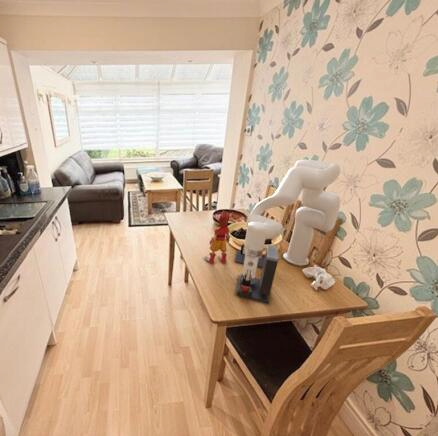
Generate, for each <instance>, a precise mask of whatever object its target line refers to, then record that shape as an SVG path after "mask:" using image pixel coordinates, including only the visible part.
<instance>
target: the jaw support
mask: <svg viewBox="0 0 438 436" xmlns="http://www.w3.org/2000/svg"><path fill="white" fill-rule="evenodd" d="M326 270H327V269H326V268H323V267H320V266H318V265H316V264H314V265H313V266H310V267H306V268H303V269H301V271H302V272H303V274H304V275H305V276H306V277H307V278H312V279H315V280H313V282H312V283H311V284H310V285H311V287H313V288H314V289H315V290H316V291H318V288H319V287H320V288H321V289H322V290H324V291H326V290H327V289H329V288H330V287H333V286H334V285H335V284H336V279H334V278H333V276H332V274H329V273H328V272H327V271H326Z"/></svg>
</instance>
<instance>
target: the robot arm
mask: <svg viewBox="0 0 438 436" xmlns="http://www.w3.org/2000/svg"><path fill="white" fill-rule="evenodd" d="M340 174H341V166H340V165H339V164H337V163H335V162H327V161H321V160H313V159H306V158H305V159H298V160H297V161H296V162H295V164H294V166H292V167H291V168H290V169H289V170H288V171H287V173H286V174H285V176H284V177H283V179H282V181H281V182H280V184H279V186H278V188H277V189H276V191H275V193H274V194H272V195H270V196H268V197H266V198H264V199H263V200H261V201H260V202H258V203H257V204H256V205H255V206H254V207H253V209H252V210H251V212H250V214H249V215H248V217H247V219H246V227H247V228H246V233H245V238H244V243H243V244H244V248H243V253H244V254H245V259H244V264H243V266H242V267H243V269H242V274H243V281H242V285H243V286H247V287H249V286H250V282H251V277H252V278H253V279H254V278H255V277H256V274H257V270H258V267H257V265H258V259H259V257H261V256H262V255H263V253H264V248H265V244H266V243H265V242H266V240H272V239H276V238H278V237H280V236H281V235H282V234H283V231H284V225H283V224H282V223H281V222H279V221H278V220H275V219H272V218H270V217H266V216H263V213H265V212H266V211H268V210H270V209H272V208H277V207H278V208H279V207H287V206H293V205H294V204H295V203H296V202H297V200H298V198H299V196H300V195H301V196H300V203H301V205H302V206H301V207H299V208H298V209H296V211H295V214H294V227H293V230H292V234H291V238H290V241H289V244H288V245H289V246H288V248H287V252H284V253H283V254H282V257H283V259H284V260H285V261H286V262H287V263H289V264H291V265H295V266H302V267H303V266H308V265H309V263H310V260H309V258H308V256H309V255H308V254H309V251H310V249H311V245H312V242H313V239H314V236H315V232H314V229H317V230H318V231H323V232H330V231H332V230H333V229H334V228H335V225H336V223H337V219H338V214H339V211H340V206H341V201H342V200H341V197H340V195H338V194H336V193H334V192H329V191H325V190H324V189H325V188H326V187H328V186H330V185H332V184H333V183H334V182H336V181H337V180H338V178H339V176H340Z"/></svg>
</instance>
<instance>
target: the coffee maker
mask: <svg viewBox="0 0 438 436" xmlns="http://www.w3.org/2000/svg"><path fill="white" fill-rule="evenodd" d="M257 280H258V281H257V283H256V284H253V285H251V284H250V286H249V290H248V291H243V290H242V281H241V279H240V277H239V278H238V285H237V291H236V296H238V297H241V298H245V299H249V300H253V301H257V302H259V303H260V302H261V303H263V304H267V305H268V304H269V295H265V294H261V293H259V289H260V278H257Z"/></svg>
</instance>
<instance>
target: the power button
mask: <svg viewBox="0 0 438 436" xmlns="http://www.w3.org/2000/svg"><path fill="white" fill-rule="evenodd" d="M242 290H243V291H248V290H249V287H247V286H243V285H242Z"/></svg>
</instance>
